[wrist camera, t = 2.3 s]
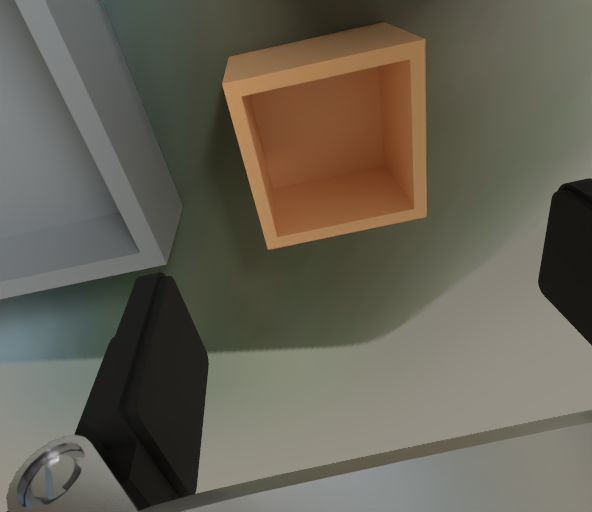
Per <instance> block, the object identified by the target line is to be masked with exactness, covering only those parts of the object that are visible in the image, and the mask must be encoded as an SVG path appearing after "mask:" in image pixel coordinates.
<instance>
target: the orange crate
mask: <svg viewBox="0 0 592 512" xmlns="http://www.w3.org/2000/svg"><path fill="white" fill-rule="evenodd" d="M222 86H223V89H224V93H225V96H226V100H227V104H228V107H229V111H230V114H231V118H232V122H233V125H234V129H235V133H236V136H237V140H238V143H239V147H240V151H241V154H242V158H243V161H244V165H245V169H246V172H247V176H248V180H249V183H250V187H251V190H252V194H253V198H254V201H255V205H256V208H257V212H258V216H259V219H260V223H261V227H262V230H263V234H264V237H265V241H266V245H267V248H268V250H270V249H275V248H280V247H284V246H289V245H294V244H299V243H304V242H309V241H313V240H318V239H323V238H328V237H333V236H338V235H342V234H347V233H352V232H357V231H362V230H367V229H371V228H376V227H381V226H386V225H391V224H396V223H400V222H405V221H410V220H415V219H420V218H425V217H427V181H426V56H425V39H424V38H422V37H420V36H417V35H415V34H412V33H410V32H408V31H405V30H403V29H400V28H398V27H396V26H393V25H391V24H388V23H386V22H381V23H377V24H372V25H368V26H363V27H359V28H354V29H350V30H345V31H341V32H336V33H332V34H328V35H323V36H319V37H314V38H310V39H305V40H301V41H296V42H292V43H287V44H283V45H278V46H274V47H270V48H265V49H261V50H256V51H252V52H247V53H243V54H238V55H234V56H229V58H228V62H227V66H226V70H225V74H224V78H223V82H222Z"/></svg>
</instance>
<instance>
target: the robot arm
mask: <svg viewBox="0 0 592 512" xmlns="http://www.w3.org/2000/svg"><path fill="white" fill-rule="evenodd" d="M538 283H539V288H540V290H541V292H542V293H543V295H544V296H545V297H546V298H547V299H548V300H549V301H550V302H551V303H552V304H553V305H554V306H555V307H556V308H557V309H558V311H559V312H560V313H561V314H562V315H563V316H564V317H565V318H566V319H567V320H568V321H569V322H570V323H571V324H572V325H573V326H574V327H575V328H576V329H577V330H578V331H579V332H580V333H581V335H582V336H583V337H584V338H585V339H586V340H587V341H588V342H589V343H590V344H591V345H592V179H584V180H579V181H574V182H570V183H565V184H563V185H561V186H560V188H559V189H558V191H557V192H555V193H554V194H553V196H552V200H551V206H550V212H549V218H548V224H547V231H546V237H545V243H544V249H543V255H542V261H541V267H540V273H539V279H538ZM208 364H209V363H208V356H207V352H206V350H205V347H204V345H203V343H202V341H201V338H200V336H199V334H198V332H197V330H196V327H195V325H194V323H193V321H192V318H191V316H190V314H189V312H188V309H187V307H186V305H185V303H184V301H183V298H182V296H181V294H180V292H179V289H178V287H177V285H176V283H175V281H174V279H173V277H172V276H168V277H166V276H165V275H164V274H163V273H162V272H159V273H154V274H150V275H145V276H140V277H138V278H137V279H136V281H135V284H134V287H133V289H132V292H131V295H130V297H129V300H128V303H127V306H126V308H125V311H124V314H123V316H122V319H121V322H120V324H119V327H118V330H117V332H116V335H115V337H114V338H112V339H111V341H110V343H109V345H108V348H107V350H106V353H105V356H104V358H103V361H102V364H101V366H100V369H99V371H98V374H97V377H96V379H95V382H94V385H93V387H92V390H91V392H90V395H89V398H88V400H87V403H86V406H85V408H84V411H83V414H82V416H81V419H80V421H79V424H78V427H77V429H76V432H75V435H70V436H63V437H61V438H58V439H56V440H53V441H51V442H49V443H48V444H46V445H44V446H43V447H41V448H40V449H38V450H37V451H36V452H35V453H34V454H33V455H32V456H30V457H29V458H28V459H27V460H26V461H25V462H24V464H23V465H22V466H21V467H20V469H19V470H18V471H17V472H16V474H15V476H14V478H13V480H12V482H11V483H10V486H9V489H8V493H7V497H6V498H7V507H8V511H7V512H592V410H588V411H583V412H578V413H573V414H568V415H563V416H558V417H553V418H548V419H544V420H539V421H534V422H529V423H524V424H519V425H514V426H509V427H505V428H499V429H495V430H490V431H485V432H480V433H476V434H471V435H466V436H461V437H456V438H451V439H446V440H441V441H437V442H432V443H427V444H422V445H418V446H413V447H408V448H403V449H398V450H394V451H389V452H384V453H379V454H375V455H370V456H365V457H361V458H356V459H351V460H346V461H342V462H337V463H332V464H328V465H323V466H318V467H314V468H309V469H304V470H299V471H295V472H290V473H286V474H281V475H276V476H272V477H267V478H263V479H258V480H254V481H250V482H246V483H241V484H237V485H232V486H228V487H224V488H219V489H215V490H211V491H206V492H202V493H197V494H195V492H196V488H197V478H198V468H199V457H200V447H201V437H202V427H203V416H204V406H205V396H206V385H207V376H208Z"/></svg>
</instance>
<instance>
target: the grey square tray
mask: <svg viewBox="0 0 592 512" xmlns="http://www.w3.org/2000/svg"><path fill="white" fill-rule="evenodd" d="M182 210H183V205H182V203H181V200H180V198H179V195H178V193H177V190H176V188H175V185H174V183H173V180H172V178H171V175H170V172H169V170H168V167H167V165H166V162H165V160H164V157H163V155H162V152H161V150H160V147H159V145H158V142H157V139H156V137H155V134H154V132H153V129H152V127H151V124H150V122H149V119H148V117H147V114H146V112H145V109H144V107H143V104H142V101H141V99H140V96H139V94H138V91H137V89H136V86H135V84H134V81H133V79H132V76H131V74H130V71H129V68H128V66H127V63H126V61H125V58H124V56H123V53H122V51H121V48H120V46H119V43H118V41H117V38H116V36H115V33H114V30H113V28H112V25H111V23H110V20H109V18H108V15H107V13H106V10H105V8H104V5H103V3H102V0H0V299H4V298H9V297H14V296H19V295H24V294H28V293H33V292H38V291H43V290H47V289H52V288H57V287H62V286H66V285H71V284H76V283H81V282H86V281H90V280H95V279H100V278H105V277H109V276H114V275H119V274H124V273H129V272H133V271H138V270H143V269H148V268H152V267H157V266H162V265H167V262H168V259H169V255H170V252H171V248H172V245H173V241H174V238H175V234H176V231H177V227H178V224H179V220H180V217H181V213H182Z"/></svg>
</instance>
